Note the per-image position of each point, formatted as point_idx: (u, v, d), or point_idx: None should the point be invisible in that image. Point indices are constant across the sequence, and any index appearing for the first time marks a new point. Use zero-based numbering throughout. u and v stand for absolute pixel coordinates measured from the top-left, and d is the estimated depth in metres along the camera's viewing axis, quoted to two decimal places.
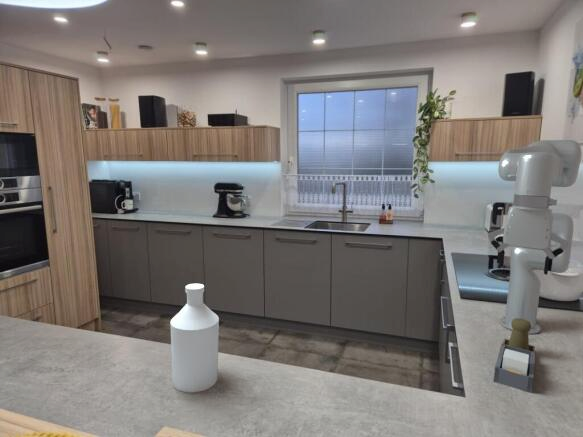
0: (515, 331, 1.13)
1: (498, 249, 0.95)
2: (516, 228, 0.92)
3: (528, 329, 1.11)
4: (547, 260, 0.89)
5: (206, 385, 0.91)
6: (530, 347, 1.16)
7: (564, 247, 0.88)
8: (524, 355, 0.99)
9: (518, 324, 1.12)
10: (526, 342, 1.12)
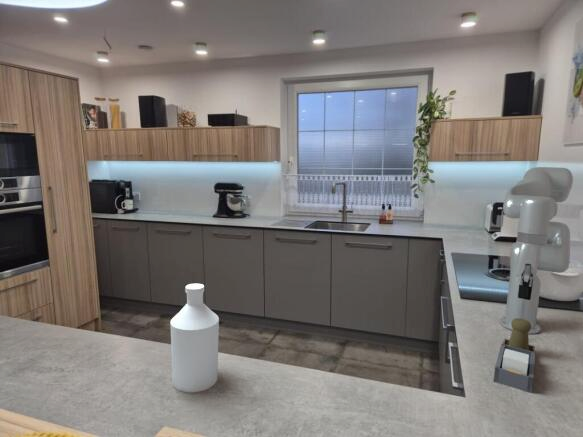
0: (515, 331, 1.13)
1: (530, 285, 1.05)
2: (537, 263, 1.07)
3: (528, 329, 1.11)
4: (532, 280, 1.14)
5: (206, 385, 0.91)
6: (530, 347, 1.16)
7: None
8: (524, 355, 0.99)
9: (518, 324, 1.11)
10: (526, 342, 1.12)
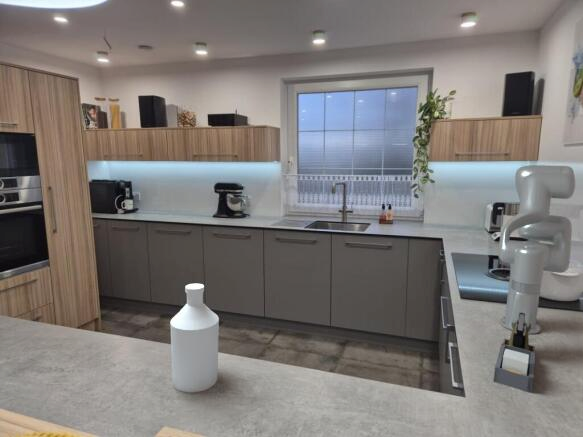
0: None
1: (524, 335, 1.10)
2: None
3: (528, 329, 1.11)
4: None
5: (206, 385, 0.91)
6: (530, 347, 1.16)
7: None
8: (524, 355, 0.99)
9: None
10: (526, 342, 1.12)
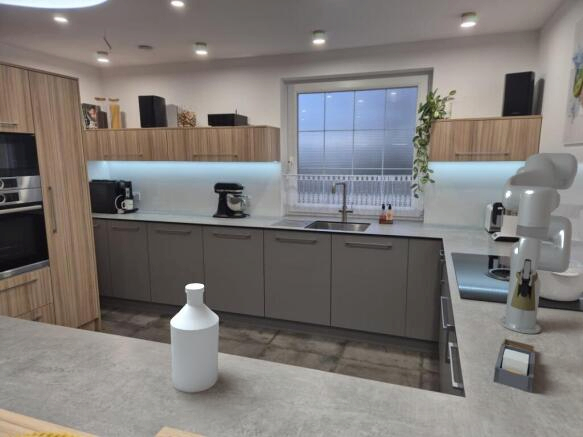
0: None
1: (530, 284, 1.00)
2: None
3: (535, 278, 1.01)
4: None
5: (206, 385, 0.91)
6: (530, 347, 1.16)
7: None
8: (524, 355, 0.99)
9: None
10: (532, 293, 1.01)
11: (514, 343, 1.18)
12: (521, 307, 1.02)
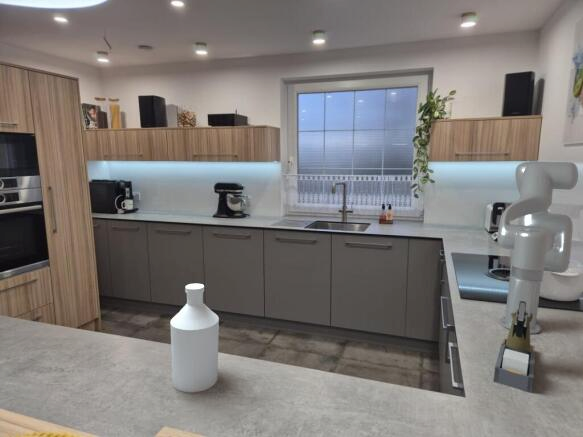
0: None
1: (525, 325, 1.02)
2: (532, 300, 1.01)
3: (530, 319, 1.02)
4: None
5: (206, 385, 0.91)
6: (530, 347, 1.16)
7: None
8: (524, 355, 0.99)
9: None
10: (527, 333, 1.03)
11: None
12: (516, 347, 1.03)
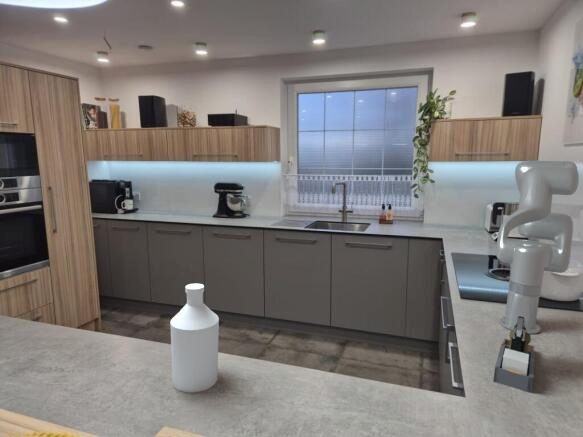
0: None
1: (523, 339, 1.00)
2: None
3: (528, 341, 1.03)
4: None
5: (206, 385, 0.91)
6: (530, 347, 1.16)
7: None
8: (524, 355, 0.99)
9: None
10: None
11: None
12: None
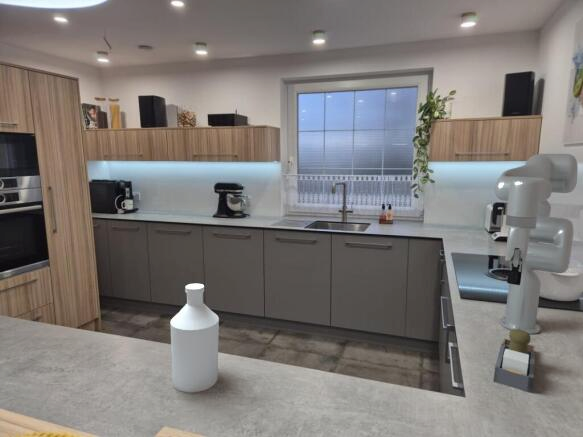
0: (514, 344, 1.04)
1: None
2: None
3: (528, 341, 1.03)
4: (522, 264, 1.11)
5: (206, 385, 0.91)
6: (530, 347, 1.16)
7: None
8: (524, 355, 0.99)
9: (517, 337, 1.03)
10: None
11: None
12: None
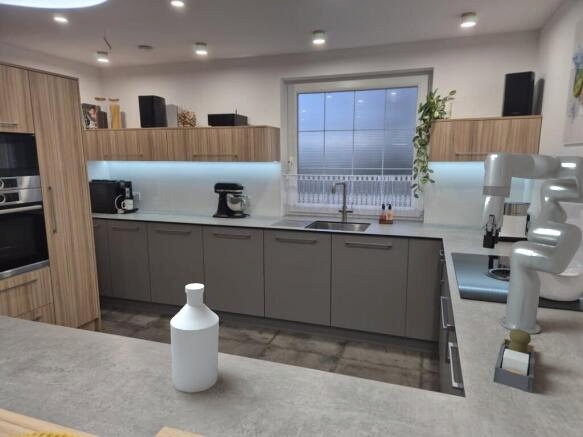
0: (514, 343, 1.04)
1: (494, 234, 1.12)
2: (500, 214, 1.13)
3: (528, 341, 1.03)
4: (498, 233, 1.20)
5: (206, 385, 0.91)
6: (530, 347, 1.16)
7: None
8: (524, 355, 0.99)
9: (517, 337, 1.03)
10: None
11: None
12: None
